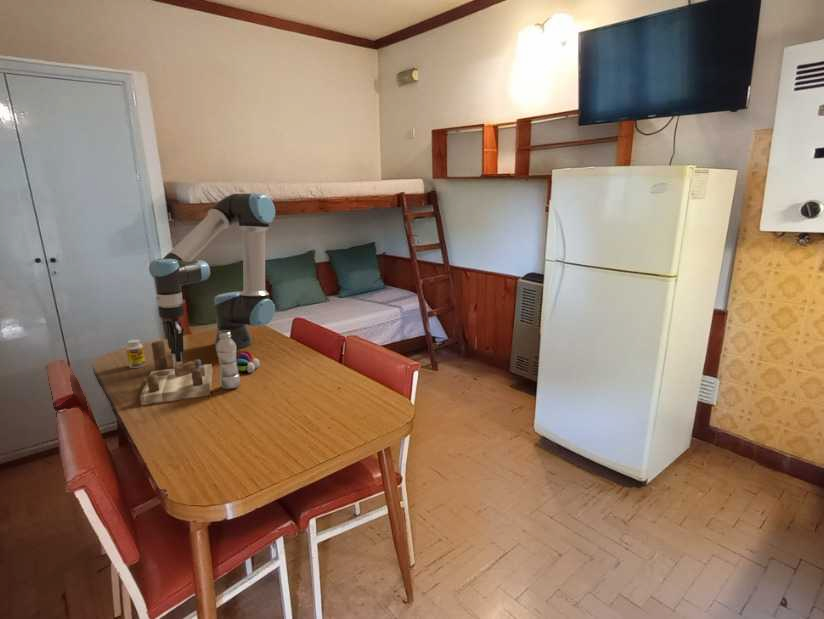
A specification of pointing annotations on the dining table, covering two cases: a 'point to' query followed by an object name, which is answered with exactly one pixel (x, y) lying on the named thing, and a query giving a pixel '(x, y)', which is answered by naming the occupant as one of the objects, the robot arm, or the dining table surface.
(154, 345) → the loose leg
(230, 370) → the plastic bottle
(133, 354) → the supplement bottle
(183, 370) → the folding leg
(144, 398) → the board
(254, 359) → the multicoloured ball
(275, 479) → the dining table surface
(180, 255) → the robot arm
